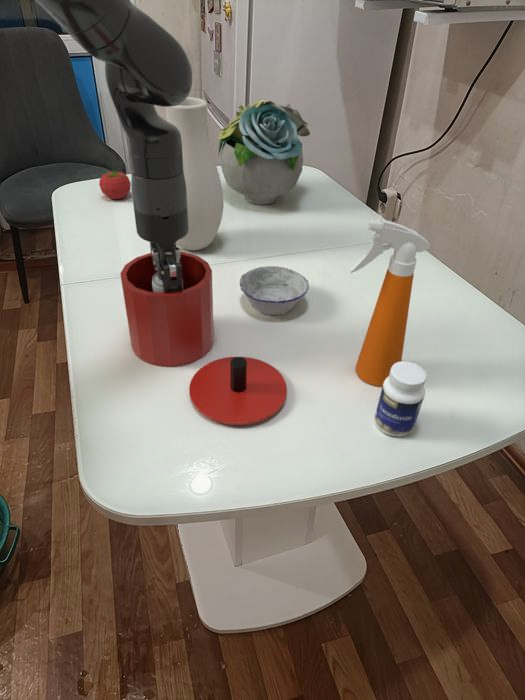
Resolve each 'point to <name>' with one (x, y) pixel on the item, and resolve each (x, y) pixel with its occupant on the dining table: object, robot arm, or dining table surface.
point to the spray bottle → (389, 299)
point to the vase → (198, 173)
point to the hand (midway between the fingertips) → (169, 302)
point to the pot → (169, 312)
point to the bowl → (273, 289)
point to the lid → (238, 390)
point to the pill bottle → (401, 399)
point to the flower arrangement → (263, 151)
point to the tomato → (115, 184)
